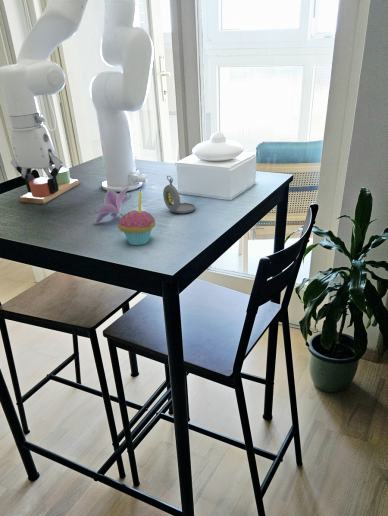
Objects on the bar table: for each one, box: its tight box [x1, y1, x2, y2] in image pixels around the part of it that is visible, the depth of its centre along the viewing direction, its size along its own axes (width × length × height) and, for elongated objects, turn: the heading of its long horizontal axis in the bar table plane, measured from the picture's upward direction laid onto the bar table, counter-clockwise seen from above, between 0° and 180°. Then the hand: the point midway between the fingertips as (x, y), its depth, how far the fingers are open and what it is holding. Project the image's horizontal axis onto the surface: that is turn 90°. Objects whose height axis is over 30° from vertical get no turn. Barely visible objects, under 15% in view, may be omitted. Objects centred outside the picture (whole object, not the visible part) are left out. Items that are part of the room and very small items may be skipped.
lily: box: [94, 187, 132, 225], centre depth 122 cm, size 12×12×10 cm
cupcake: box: [118, 188, 156, 246], centre depth 110 cm, size 9×8×12 cm
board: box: [19, 178, 80, 205], centre depth 148 cm, size 8×20×2 cm, turn 161°
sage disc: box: [50, 167, 72, 185], centre depth 152 cm, size 6×6×4 cm
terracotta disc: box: [29, 176, 55, 198], centre depth 131 cm, size 6×6×4 cm
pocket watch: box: [162, 175, 196, 214], centre depth 127 cm, size 8×8×10 cm
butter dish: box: [174, 131, 257, 201], centre depth 141 cm, size 18×18×16 cm
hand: (43, 191), depth 131 cm, fingers closed on terracotta disc, 6 cm apart
